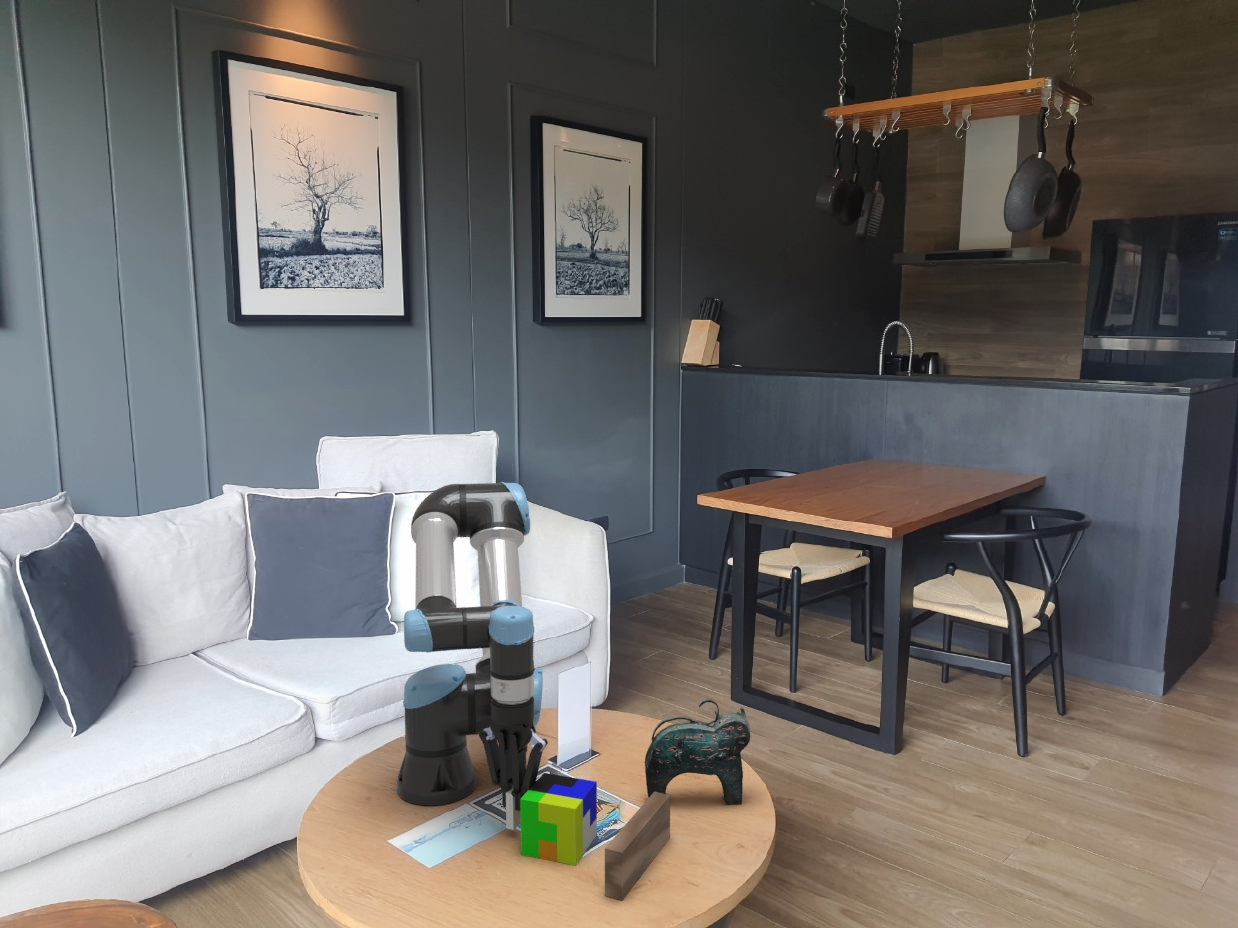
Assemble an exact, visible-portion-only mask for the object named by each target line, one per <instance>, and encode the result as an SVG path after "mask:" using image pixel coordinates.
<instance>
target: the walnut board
mask: <svg viewBox="0 0 1238 928" xmlns="http://www.w3.org/2000/svg"><path fill="white" fill-rule="evenodd" d="M670 839H671V795H670V794H668V793H666V794H663V793H659V792H654V793H653V794H652V795H651V796H650V797H649V798H648V797H647V799H646V800H645V802H644V803H643V804H642V805H641V806H640V807H639V809H638V810H637V811H636V812H635V813H634V814H633V815H632V817H631V818H630V819H629V820H628V821H627V822H626V823H625V824H624V826H622V827H621V829H620V830H619V831H618V833H616V834H615V836H614V837H613V838H612V839H611V841H609V843H608V844H607V845H606V847H604V897H607V898H611V899H615V900H619V901H624V899H625V898H626V896H627V895H629V893H630V892H631V890H632V888H633V887H634V886H635V885H636V883H637V882H638V881H639V880H640V878H641V877H642V876H643V874H644V873H645V871H646V870H647V869H648V867H649V866H650V865H651V864H652V862H653V861H654V860H655V858H656V857H657V856H658V854H659V853H660V852H661V850H662V849H663V848H664V846H666V844H667V843H668V842H669V840H670Z"/></svg>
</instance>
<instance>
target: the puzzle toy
mask: <svg viewBox="0 0 1238 928" xmlns="http://www.w3.org/2000/svg"><path fill="white" fill-rule="evenodd" d="M597 783H598V782H597V781H594V780H590V779H582V778H577V777H571V776H566V775H559V774H553V773H548V772H547V773H546V772H544V773H542V774H541V776H540V777H539V778H538V779H536V782H535V783H534V785H533V786H532V787H531V788H530V789H529V790H528V791H527V792H526V793H525V794H524V796H523V797H522V798H521V799H520V821H521V824H520V855H521V856H525V857H531V858H536V859H541V860H546V861H551V862H555V863H560V864H561V863H562V864H566V865H571V866H577V864H578V863H579V862H580V860H581V859H582V857H583V856H584V855H585V853H586V852H587V850H588V849H589V847H591V846H590V845H591V844H592V843H593V842H594V841H595V839H596V836H597V835H598V834H597V833H598V832H597V831H598V826H597V825H598V820H597V818H598V817H597V816H598V815H597V814H598V810H597V809H598V808H597V807H598V800H597V798H598V793H597V792H598V789H597V787H598V786H597Z"/></svg>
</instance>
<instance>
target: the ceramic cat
mask: <svg viewBox="0 0 1238 928" xmlns="http://www.w3.org/2000/svg"><path fill="white" fill-rule="evenodd" d="M706 703H712V704H714V705H715V706H716V707H717V709H715V710H714V714H715V718H714V720H713V721H710V722H706V721H702V720H695V719H692V718H689V717H683V716H678V717H671V718H668V719H664V720H662V721H660V722H659V723H658V724H657V725H656V727H655V729H654V730H653V733H652V736H651V738H650V739H651V742H650V745H649V746H648V748H647V751H646V754H645V758H644V771H645V772H644V773H645V784H646V791H647V796H648V797H647V799H648V798H649V797H650V796H651V795H652V794H653V793H654V792H659V793H663V794H667V787H668V785H669V784H670V782H671V781H672V780H673V779H674V778H676V777H678V776H680V775H684V774H697V775H705V776H706V775H707V776H716V778H718V779H719V781H720V784H721V787H722V796H723V802H724V803H725V806H726V805H727V806H730V805H742V804H743V792H744V790H743V789H744V788H743V786H744V784H743V781H744V779H743V778H744V770H743V769H744V768H743V762H742V755H741V753H742V751H743V750H744V749H745V748H746V747H747V746H748V745H749V743H750V741H751V727H750V721H749V720H748V718H747V716H746V715H747V714H746V712H745V709H744V708H743V707H742V706H741V707H740V708H739V709H738V710H737V712H726V713H722V712H720V709H719V705H718V703H717V702H715V701H714V700H712V699H705V700H702V701H701V702H700V703H699V705H698V707H699V708H701V707H702V706H703V705H704V704H706ZM677 720H685V721H683V722H679V723H678V722H677V723H672V724H669V725H667V726H666V727H664V728H662V729H660V730H659V728H660V727H662V725H664V724H666V723H669V722H674V721H677ZM658 730H659V731H658ZM657 731H658V732H657ZM656 732H657V733H656Z"/></svg>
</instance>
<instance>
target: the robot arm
mask: <svg viewBox="0 0 1238 928" xmlns="http://www.w3.org/2000/svg"><path fill="white" fill-rule="evenodd" d="M529 508H530V507H529V503H528V499H527V496H526V493H525V490H524V487H522V485H520V484H519V483H517V482H504V481H499V482H493V483H492V482H491V483H489V482H488V483H486V482H485V483H453V484H452V483H451V484H447V485H443V486H440V487H439V488H437V489H435V490H434V491H432V492H430V493H429V494H428V495H427V496H426V497H425V498H424V499H423V500H422V501H421V502H420V503H419V504H418V506H417V508H416V509H415V512H414V514H413V516H412V519H411V523H410V533H411V534H410V535H411V539H412V541H413V542H414V544H415V609H411V610H407V611H405V612H404V614H403V615H404V616H403V638H404V639H403V642H404V648H405V650H406V651H407V652H410V653H434V652H436V653H437V652H446V651H460V650H461V651H462V650H475V649H477V650H478V649H481V650H482V656H481V658H480V659H479V660H478V661H477V662H476V663H475V665H474V666H475V672H473V673H472V672H470V673H467V671H466V670H465V668H464V667H463V666H462V665H459V664H456V663H455V664H452V663H444V664H437V665H432V666H429V667H426V668H423V669H421V670H418V671H417V672H415V673H413V674H412V675H410V677H408V679H407V680H406V682H405V683H404V690H403V691H404V693H403V697H404V698H403V701H402V705H403V708H404V732H405V733H404V735H405V736H404V739H405V752H404V756H403V759H402V763H401V765H400V766H401V767H400V769H399V773H398V776H397V780H396V781H397V783H396V785H397V793H398V796H399V798H401V799H403V800H404V801H406V802H408V803H411V804H414V805H419V806H441V805H446V804H451V803H454V802H457V801H460V800H462V799H464V798H467V796H469V795H470V794H472V792H474V791H475V789H476V787H477V770H476V768H475V766H474V764H473V761H472V758H471V754H470V752H469V749H468V746H467V736H476V735H478V737H479V739H480V741H481V742H482V744H483V748H484V752H485V756H486V762H487V766H488V771H489V775H490V780H491V784H492V785H493V786H495V787H498V788H500V790H501V791H502V792H501V793H502V795H501V796H502V797H501V798H502V801H501V802H502V803H501V805H502V808H505V819H506V821H505V823H506V824H505V825H506V826H505V828H506V829H508V830H511V831H514V830H515V829H516V828H518V827H519V826H521V821H520V799H521V798H522V797H523V796H524V794H525V793H526V792H527V791H528V790H529V789H530V788H531V787H532V786H533V785H534V783H535V782H536V781H537V780H538V779H537V778H538V774H539V769H540V765H541V760H542V755H543V751H544V749H545V748H546V747H547V746H548V744H549V741H548V740H547V738H540V737H539V735H537V733H536V732H537V731H536V727H537V726H538V725H539V722H540V716H541V710H542V701H543V700H542V699H543V697H542V696H543V680H544V677H543V670H542V669H541V668H539V667H536V668H535V662H534V660H535V659H534V633H535V626H534V625H535V624H534V615H533V612H532V610H530V609H529V608H527V607H525V606H523V601H522V600H523V598H522V586H521V572H520V560H519V559H520V557H519V556H520V555H519V548H520V547H521V545H523V544H524V542H525V536H528V535H529V533H530V532H531V517H530V509H529ZM457 538H469V544H470V547H472V548H473V549H475V551H477V566H478V584H479V585H478V587H479V588H478V589H479V606H468V607H467V606H466V607H465V606H462V607H457V592H456V590H457V589H456V569H455V553H454V552H455V549H454V548H455V547H454V542H455V541H456V539H457ZM530 742H531V743H530ZM529 743H530V752H529V754H528V755H529V756H528V759H527V753H528V745H529Z"/></svg>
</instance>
